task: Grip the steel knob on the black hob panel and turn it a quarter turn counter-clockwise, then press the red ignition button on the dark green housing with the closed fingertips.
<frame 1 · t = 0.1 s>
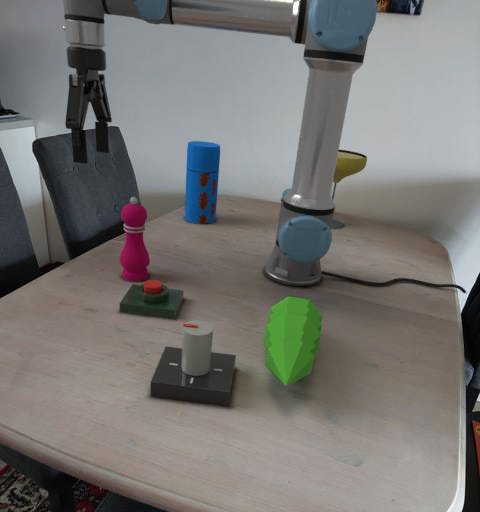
hand: (92, 157, 104), 28 cm above the table, tool pointing down, fingers open, 13 cm apart
cocktail glass: (327, 224, 174), on the table
start button: (152, 287, 103), point 4 cm above the table, slide at 0.1 cm
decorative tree: (285, 365, 90), on the table
hob panel: (194, 381, 82), on the table
button box: (152, 305, 105), on the table
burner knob: (196, 347, 79), point 7 cm above the table, hinge at 0.0°
thermos: (199, 219, 164), on the table
pepper mill: (135, 277, 118), on the table
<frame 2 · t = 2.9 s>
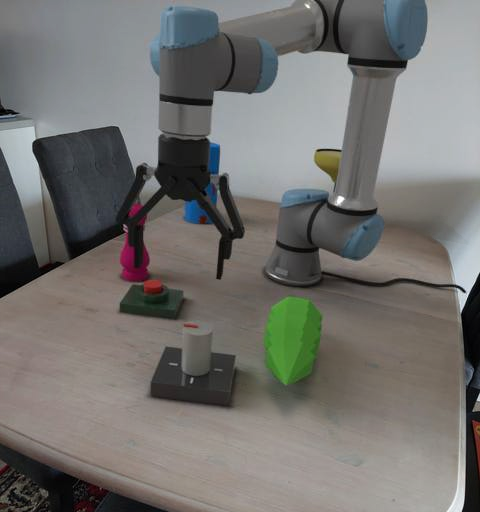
hand: (179, 271, 78), 18 cm above the table, tool pointing down, fingers open, 13 cm apart
nothing on the table moved.
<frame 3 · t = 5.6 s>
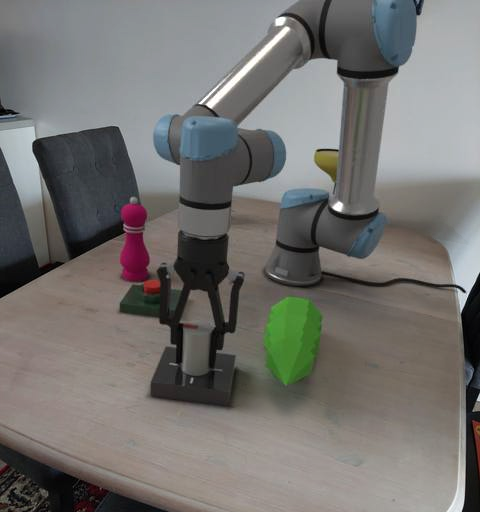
hand: (196, 361, 80), 4 cm above the table, tool pointing down, fingers closed on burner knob, 5 cm apart
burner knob: (196, 347, 79), point 7 cm above the table, hinge at 0.1°, touching gripper
everything else where it was.
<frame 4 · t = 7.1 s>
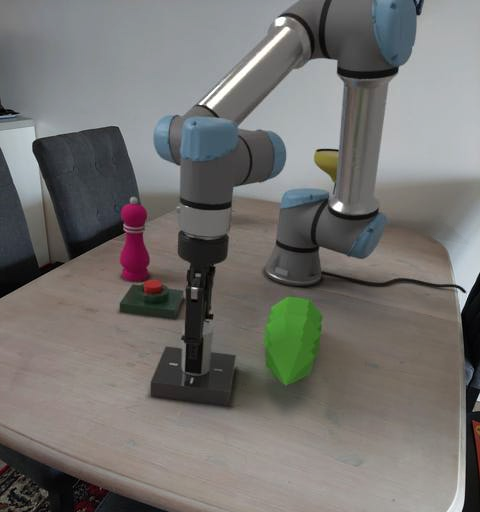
hand: (196, 361, 80), 4 cm above the table, tool pointing down, fingers open, 5 cm apart
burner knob: (196, 347, 79), point 7 cm above the table, hinge at 91.1°
everything else where it was.
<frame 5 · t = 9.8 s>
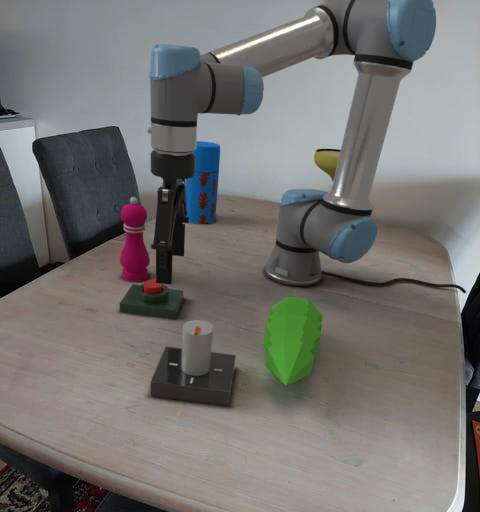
hand: (171, 268, 89), 14 cm above the table, tool pointing down, fingers open, 13 cm apart
nothing on the table moved.
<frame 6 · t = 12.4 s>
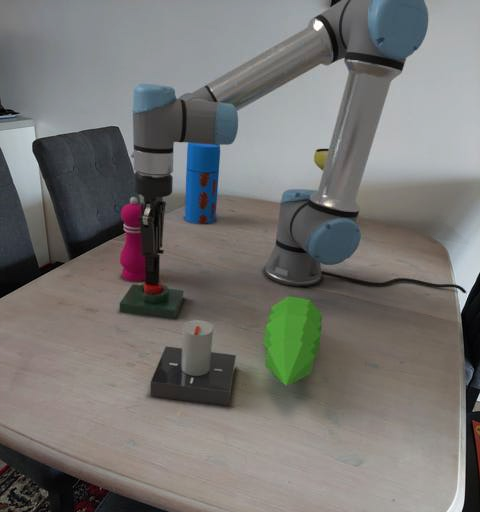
hand: (152, 282, 103), 6 cm above the table, tool pointing down, fingers closed
start button: (152, 287, 103), point 4 cm above the table, slide at 0.1 cm, touching gripper
everything else where it was.
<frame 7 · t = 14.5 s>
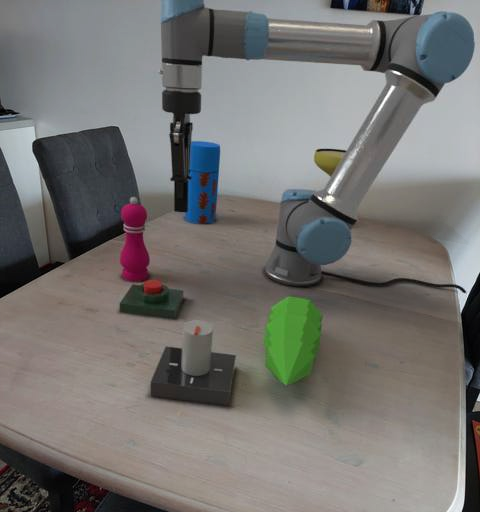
hand: (181, 211, 101), 20 cm above the table, tool pointing down, fingers closed
start button: (152, 287, 103), point 4 cm above the table, slide at 0.1 cm
everything else where it was.
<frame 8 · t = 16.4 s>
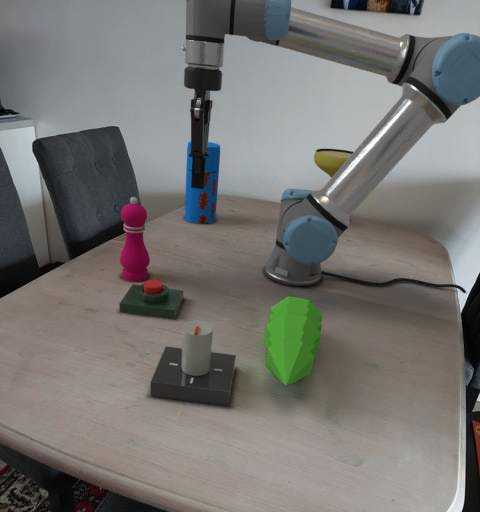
hand: (197, 187, 104), 24 cm above the table, tool pointing down, fingers closed
nothing on the table moved.
at the end: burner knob at +91° (first picture: +0°); start button pushed in 1.0 cm at the most during the clip, back to where it started at the end; start button slide at 0.1 cm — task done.
